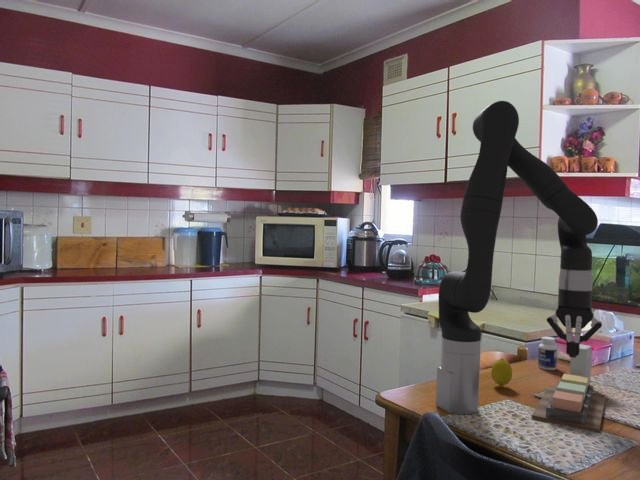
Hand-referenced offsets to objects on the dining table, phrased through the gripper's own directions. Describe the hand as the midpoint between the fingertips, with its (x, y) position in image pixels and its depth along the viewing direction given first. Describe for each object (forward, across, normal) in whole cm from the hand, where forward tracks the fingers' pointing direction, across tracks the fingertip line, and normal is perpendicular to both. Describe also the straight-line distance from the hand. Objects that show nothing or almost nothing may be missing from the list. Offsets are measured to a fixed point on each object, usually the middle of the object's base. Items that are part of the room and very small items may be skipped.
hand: (572, 356), depth 132 cm
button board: (+13, 0, -1) cm, 13 cm away
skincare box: (+13, +1, +19) cm, 23 cm away
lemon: (+13, -18, +7) cm, 24 cm away
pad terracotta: (+10, 0, -10) cm, 14 cm away
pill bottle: (+13, -10, +37) cm, 41 cm away
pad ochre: (+11, 0, +9) cm, 14 cm away
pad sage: (+10, 0, -1) cm, 10 cm away
